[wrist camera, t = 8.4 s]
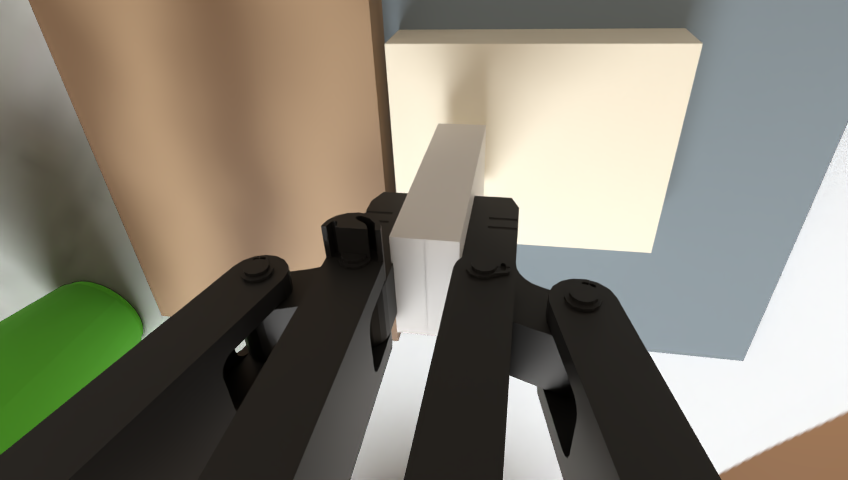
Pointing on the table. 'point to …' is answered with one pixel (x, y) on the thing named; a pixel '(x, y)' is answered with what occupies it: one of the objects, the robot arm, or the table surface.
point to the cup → (59, 351)
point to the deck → (227, 125)
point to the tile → (553, 121)
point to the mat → (702, 156)
